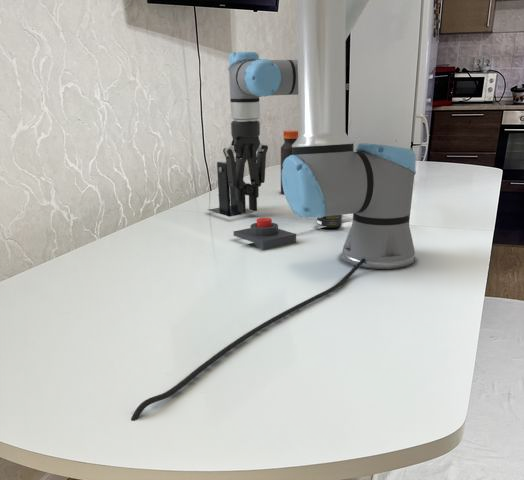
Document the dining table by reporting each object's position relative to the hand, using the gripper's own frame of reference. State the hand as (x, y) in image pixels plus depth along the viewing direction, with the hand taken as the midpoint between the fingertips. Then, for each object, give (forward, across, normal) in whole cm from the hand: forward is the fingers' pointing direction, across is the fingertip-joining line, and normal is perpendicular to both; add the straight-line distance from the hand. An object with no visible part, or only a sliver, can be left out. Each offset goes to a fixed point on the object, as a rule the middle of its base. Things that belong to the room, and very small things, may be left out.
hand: (247, 210), depth 147 cm
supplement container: (+2, -11, +22) cm, 24 cm away
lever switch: (+3, 0, -8) cm, 9 cm away
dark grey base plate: (+2, +10, +21) cm, 24 cm away
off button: (-1, +10, +21) cm, 24 cm away
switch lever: (-7, 0, -5) cm, 8 cm away
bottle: (+3, -35, -23) cm, 42 cm away
